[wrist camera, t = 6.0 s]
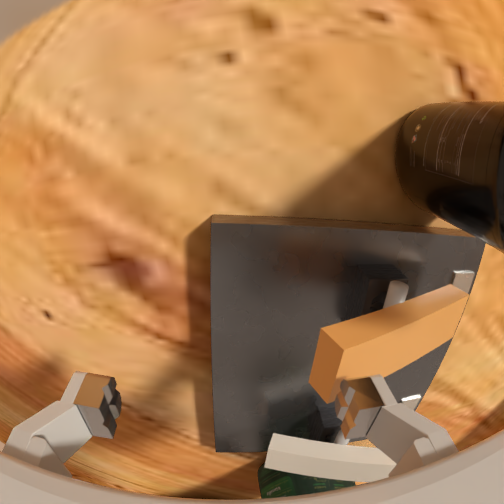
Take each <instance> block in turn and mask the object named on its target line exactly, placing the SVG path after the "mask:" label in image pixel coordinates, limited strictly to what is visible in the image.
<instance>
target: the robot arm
mask: <svg viewBox="0 0 504 504" xmlns="http://www.w3.org/2000/svg"><path fill="white" fill-rule="evenodd" d="M116 385H117V384H116V381H115V378H114V377H110V376H104V375H98V374H92V373H86V372H80V371H76V372H74V373H73V375H72V377H71V379H70V381H69V383H68V385H67V387H66V390H65V392H64V394H63V396H62V398H61V400H60V401H55V402H54V403H52V404H50V405H49V406H47V407H46V408H44V409H42V410H41V411H39V412H38V413H36V414H35V415H33V416H31V417H30V418H28V419H27V420H25V421H23V422H22V423H20V424H19V425H17V426H15V427H14V428H13V430H12V432H11V434H10V436H9V438H8V440H7V442H6V444H5V447H4V449H3V451H2V452H1V451H0V504H504V429H503V430H501V431H500V432H498V433H496V434H494V435H492V436H490V437H488V438H486V439H484V440H482V441H480V442H478V443H476V444H474V445H472V446H470V447H468V448H466V449H464V450H461V451H458V449H457V448H456V446H455V444H454V442H453V441H452V439H451V437H450V436H449V434H448V432H447V430H446V429H445V428H443V427H441V426H439V425H438V424H436V423H434V422H432V421H431V420H429V419H427V418H426V417H424V416H422V415H420V414H419V413H417V412H415V411H414V410H412V409H410V408H409V407H407V406H405V405H404V404H402V403H397V401H396V400H395V398H394V396H393V394H392V392H391V391H390V389H389V387H388V385H387V383H386V382H385V380H384V378H383V376H382V375H380V374H378V375H371V376H364V377H356V378H348V379H343V380H342V381H341V384H340V389H341V391H340V392H339V393H338V394H337V395H336V399H335V412H336V415H337V418H339V419H340V420H342V424H341V426H340V427H341V430H342V432H343V435H344V438H345V440H346V439H353V438H359V437H365V436H366V438H367V439H368V440H369V441H370V442H371V443H373V444H374V445H375V446H376V447H377V448H378V449H380V450H381V451H382V452H383V453H384V454H386V455H387V456H388V457H389V458H390V459H391V460H393V461H394V462H395V463H396V466H395V467H394V468H393V469H392V470H391V472H390V473H389V475H388V476H389V477H388V478H384V479H380V480H377V481H373V482H369V483H365V484H361V485H356V486H352V487H347V488H342V489H337V490H331V491H326V492H320V493H313V494H306V495H298V496H289V497H279V498H265V499H243V500H214V499H191V498H178V497H167V496H159V495H151V494H144V493H137V492H131V491H126V490H120V489H115V488H110V487H106V486H101V485H97V484H93V483H89V482H85V481H81V480H78V479H74V478H72V474H71V473H70V472H69V470H68V469H67V468H66V467H65V465H64V463H65V462H66V461H67V460H68V459H69V458H70V457H71V456H72V455H73V454H74V453H75V452H76V451H78V450H79V449H80V448H81V447H82V446H83V445H84V444H85V443H86V442H87V441H88V440H89V439H90V438H91V437H92V436H98V437H104V438H110V439H113V437H114V434H115V430H116V427H117V424H116V422H115V419H116V418H117V417H119V416H120V412H121V403H122V402H121V396H120V393H119V392H118V391H117V390H116V389H115V388H116Z"/></svg>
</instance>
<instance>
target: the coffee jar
mask: <svg viewBox="0 0 504 504" xmlns="http://www.w3.org/2000/svg"><path fill="white" fill-rule="evenodd" d="M264 466H265V463H264V464H263V465H262V466H261V467H260V468H259V470H258V481H259V487H260V492H261V497H262V499H265V498H279V497H289V496H298V495H306V494H313V493H320V492H326V491H331V490H337V489H342V488H347V487H352V486H356V485H355V481H346V480H336V479H328V478H320V477H313V476H306V475H300V474H295V473H289V472H284V471H279V470H274V469H269V468H265V467H264Z"/></svg>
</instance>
